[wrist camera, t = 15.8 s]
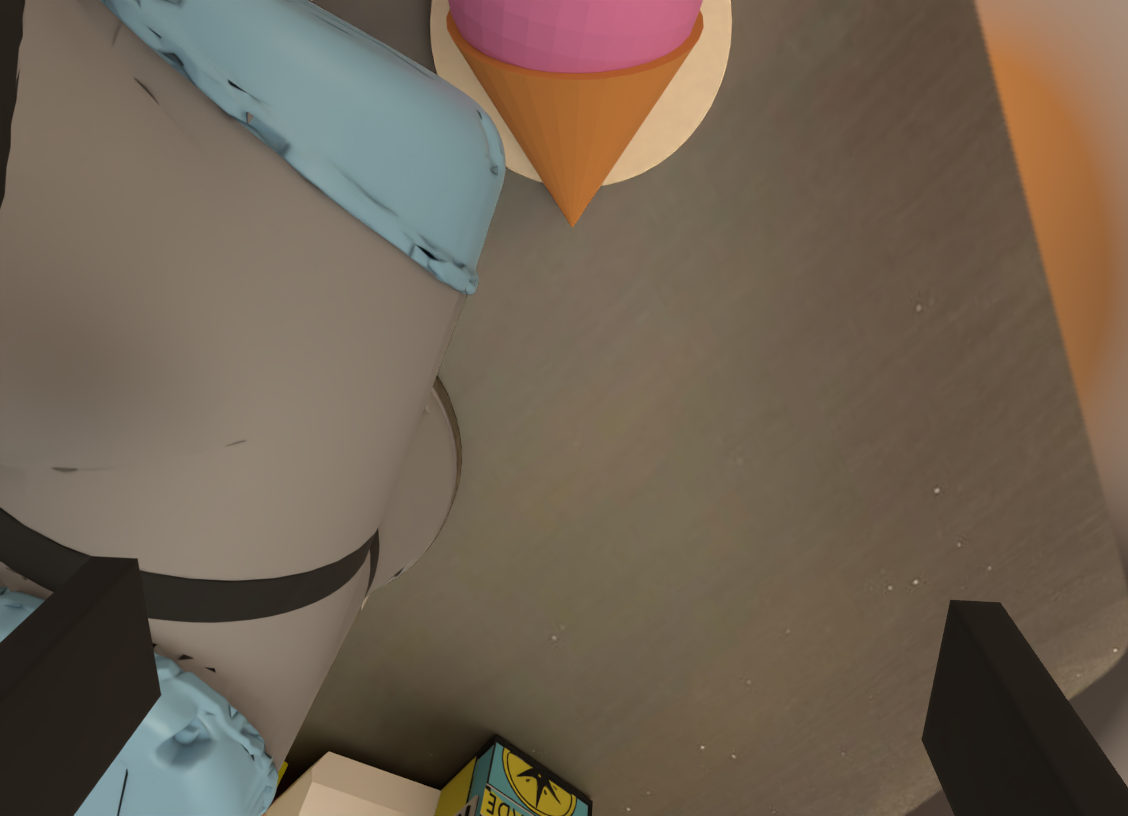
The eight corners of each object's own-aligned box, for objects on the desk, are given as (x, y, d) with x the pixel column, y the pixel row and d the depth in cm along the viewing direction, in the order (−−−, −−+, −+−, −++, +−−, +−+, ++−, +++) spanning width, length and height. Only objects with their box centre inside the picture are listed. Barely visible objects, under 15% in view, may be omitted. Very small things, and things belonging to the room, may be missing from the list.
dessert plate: (433, 173, 39) (427, 176, 38) (438, -144, 35) (430, -151, 34) (709, 194, 39) (711, 198, 38) (748, -124, 34) (752, -131, 33)
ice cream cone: (530, 324, 35) (555, -94, 23) (410, 197, 39) (382, -206, 28) (706, 245, 38) (802, -148, 27) (578, 137, 43) (614, -238, 31)
